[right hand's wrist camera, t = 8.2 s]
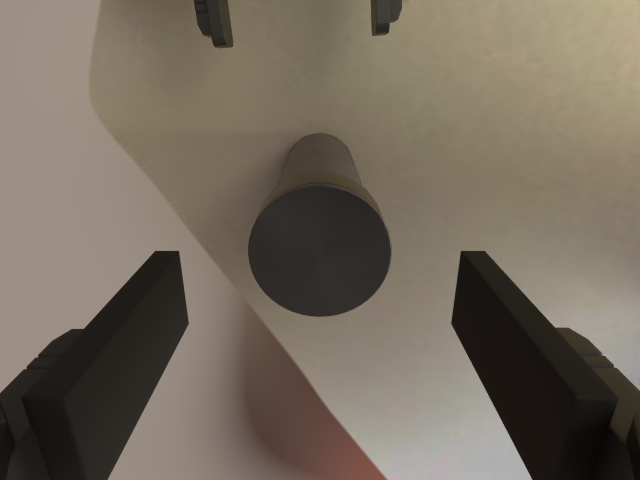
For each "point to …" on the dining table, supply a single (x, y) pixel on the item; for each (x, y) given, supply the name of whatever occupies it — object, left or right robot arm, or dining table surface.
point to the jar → (319, 158)
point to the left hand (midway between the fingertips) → (302, 40)
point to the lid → (319, 245)
